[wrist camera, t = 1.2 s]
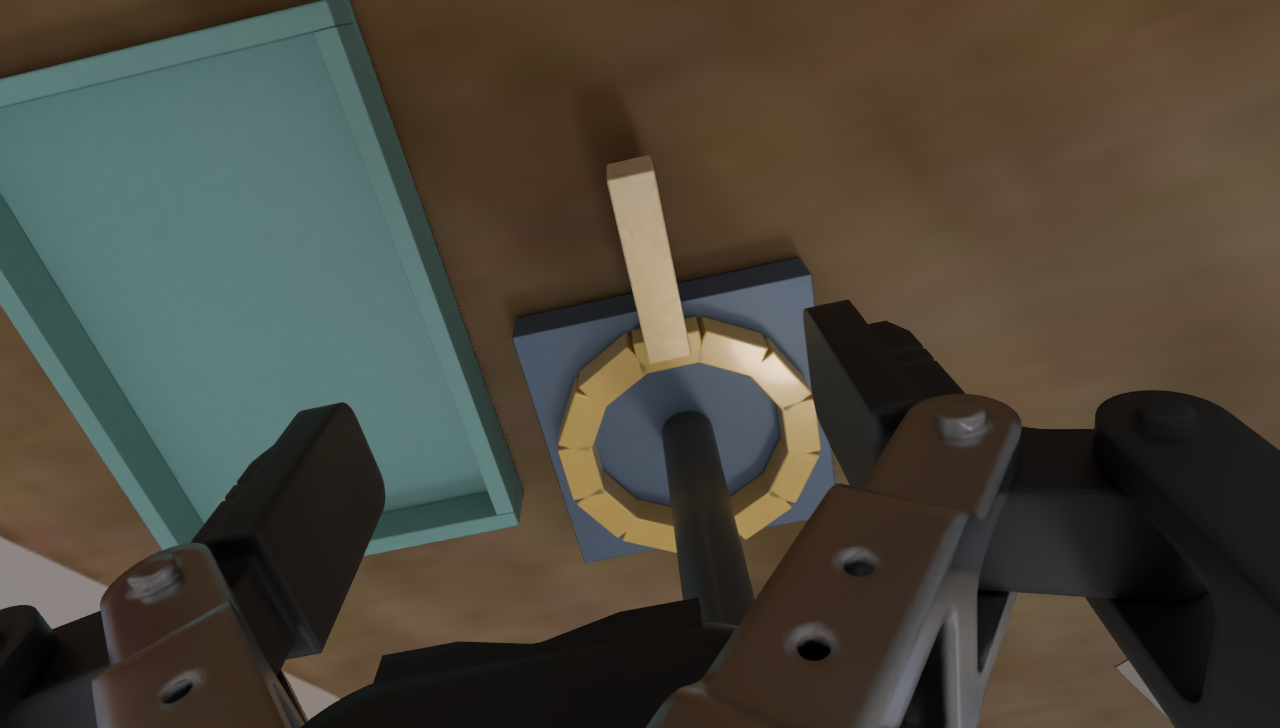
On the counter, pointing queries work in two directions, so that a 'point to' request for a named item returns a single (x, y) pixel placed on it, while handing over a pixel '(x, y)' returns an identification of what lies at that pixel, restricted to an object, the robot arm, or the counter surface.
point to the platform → (1138, 682)
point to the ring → (672, 346)
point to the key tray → (242, 272)
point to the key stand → (681, 423)
